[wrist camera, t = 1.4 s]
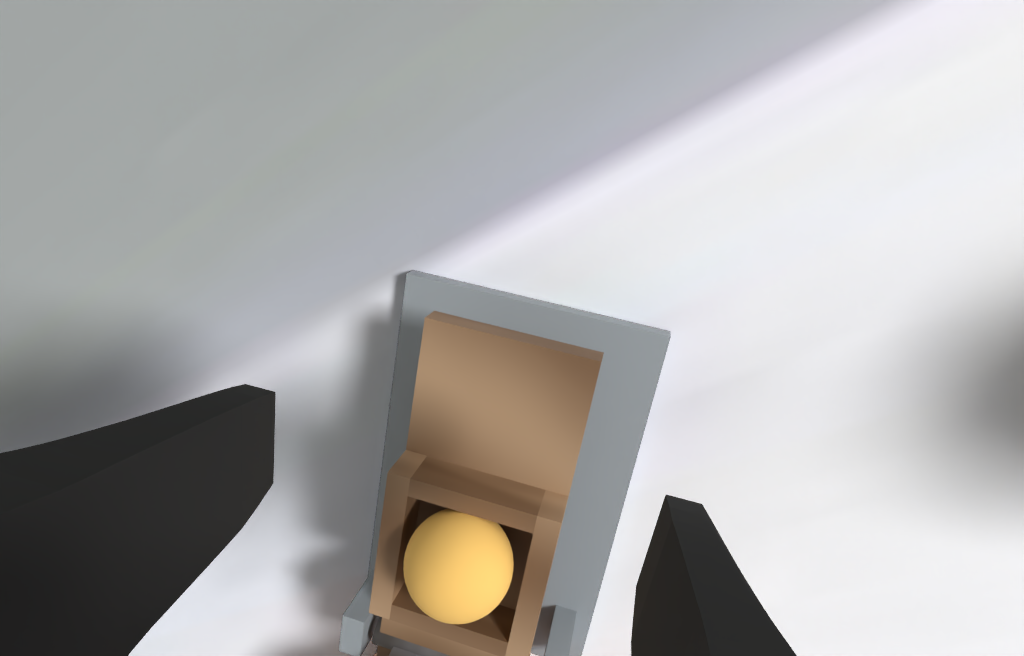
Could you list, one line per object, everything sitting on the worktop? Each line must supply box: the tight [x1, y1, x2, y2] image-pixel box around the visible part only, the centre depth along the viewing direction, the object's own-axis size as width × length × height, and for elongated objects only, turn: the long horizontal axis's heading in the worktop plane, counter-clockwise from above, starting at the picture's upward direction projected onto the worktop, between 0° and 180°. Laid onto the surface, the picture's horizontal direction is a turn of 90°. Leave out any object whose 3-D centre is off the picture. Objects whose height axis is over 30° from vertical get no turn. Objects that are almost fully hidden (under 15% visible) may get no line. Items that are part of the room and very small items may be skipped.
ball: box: [403, 508, 514, 624], centre depth 18 cm, size 3×3×3 cm
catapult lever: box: [369, 311, 604, 656], centre depth 20 cm, size 14×6×2 cm, turn 170°
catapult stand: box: [339, 270, 670, 656], centre depth 22 cm, size 14×9×4 cm, turn 170°
